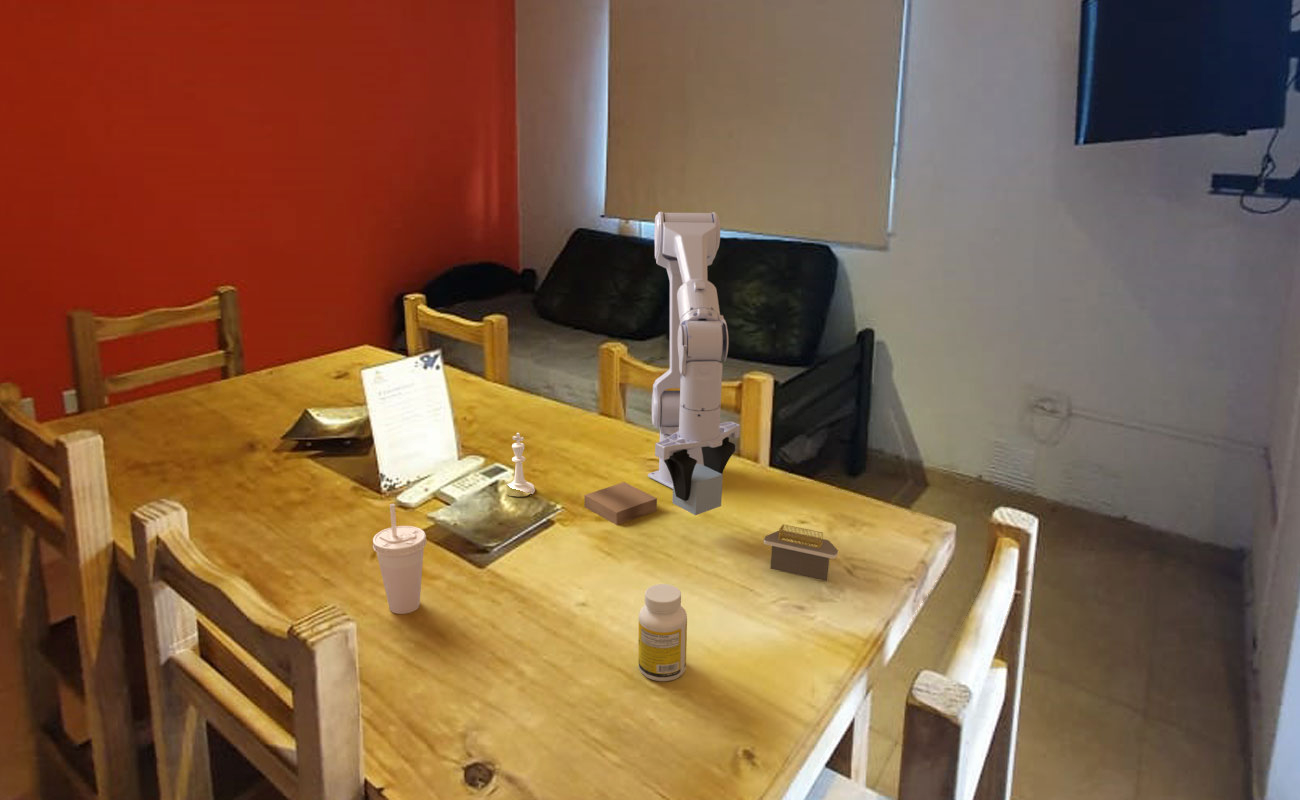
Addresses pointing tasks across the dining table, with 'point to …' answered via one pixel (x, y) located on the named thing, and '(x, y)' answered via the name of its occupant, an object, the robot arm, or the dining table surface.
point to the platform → (800, 553)
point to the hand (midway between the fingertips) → (696, 493)
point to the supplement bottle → (662, 634)
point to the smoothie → (401, 564)
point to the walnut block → (620, 503)
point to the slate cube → (702, 491)
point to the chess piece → (520, 467)
